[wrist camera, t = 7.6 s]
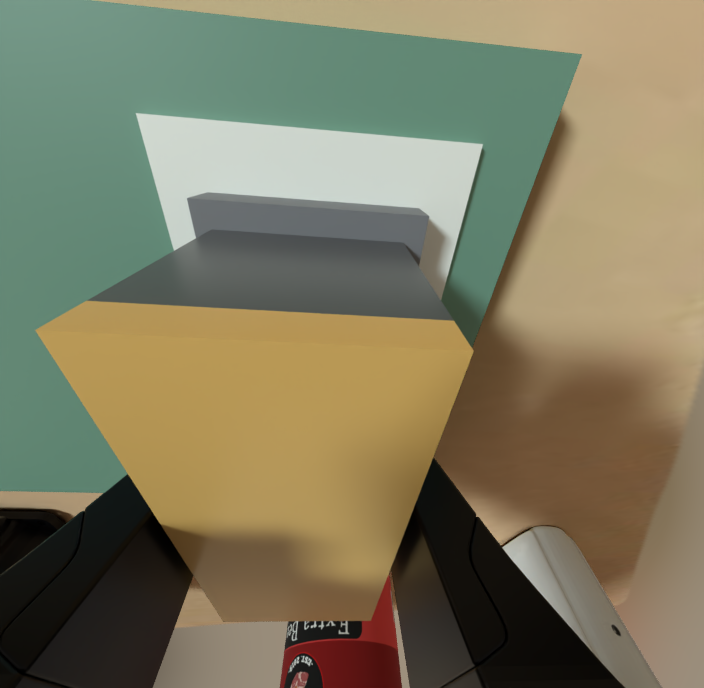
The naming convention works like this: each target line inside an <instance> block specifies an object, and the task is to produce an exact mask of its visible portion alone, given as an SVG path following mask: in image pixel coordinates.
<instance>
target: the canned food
mask: <svg viewBox="0 0 704 688" xmlns="http://www.w3.org/2000/svg"><path fill="white" fill-rule="evenodd" d="M280 688H402V684H401V675H400V665H399V656H398V647H397V638H396V628H395V619H394V610H393V601H392V592H391V582H390V577H389V574H388V577H387V580H386V582H385V585H384V587H383V590H382V593H381V595H380V598H379V600H378V603H377V606H376V608H375V611H374V614H373V616H372V619H371V621H288V627H287V635H286V643H285V651H284V659H283V667H282V675H281V683H280Z"/></svg>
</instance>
